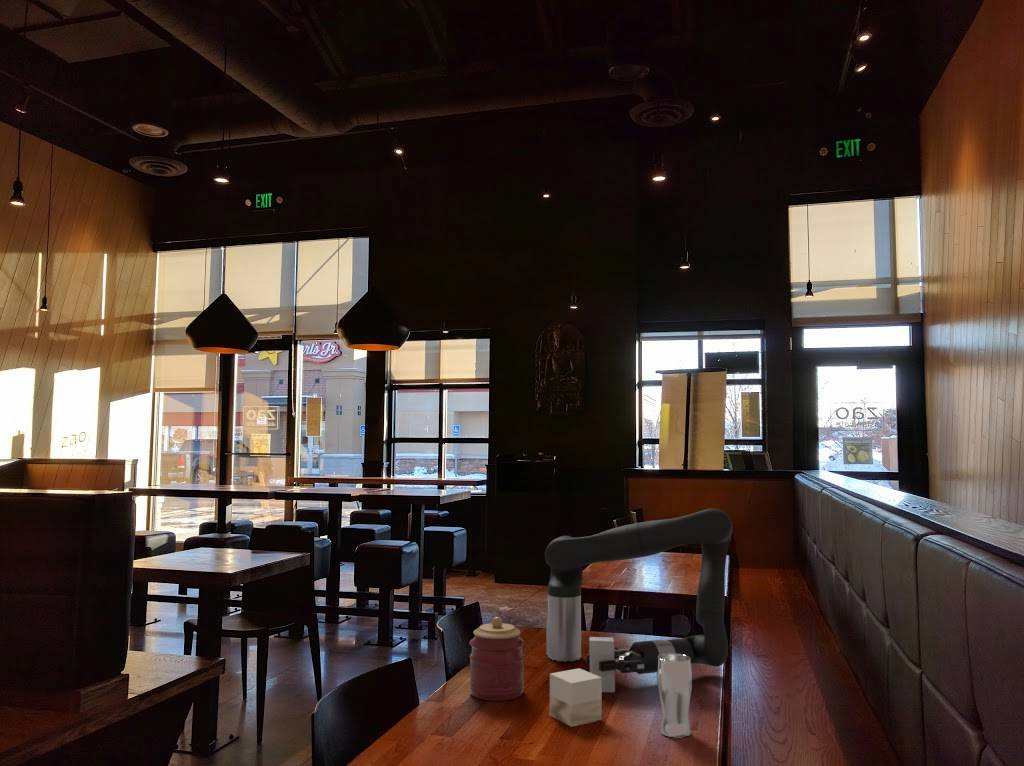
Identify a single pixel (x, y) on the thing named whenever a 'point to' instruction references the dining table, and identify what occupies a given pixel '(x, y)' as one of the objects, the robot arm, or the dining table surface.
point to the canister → (496, 662)
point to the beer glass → (674, 693)
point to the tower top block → (575, 686)
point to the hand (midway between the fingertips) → (593, 662)
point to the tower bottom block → (576, 711)
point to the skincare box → (602, 652)
